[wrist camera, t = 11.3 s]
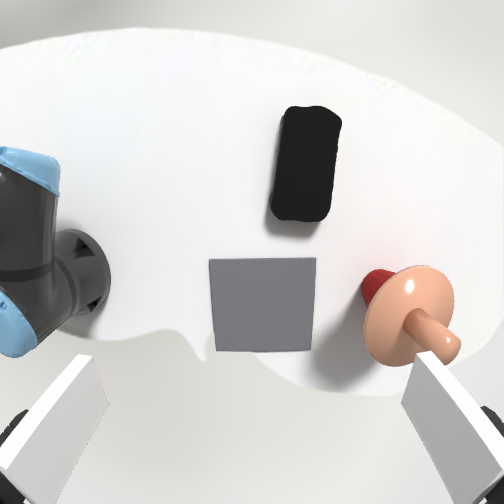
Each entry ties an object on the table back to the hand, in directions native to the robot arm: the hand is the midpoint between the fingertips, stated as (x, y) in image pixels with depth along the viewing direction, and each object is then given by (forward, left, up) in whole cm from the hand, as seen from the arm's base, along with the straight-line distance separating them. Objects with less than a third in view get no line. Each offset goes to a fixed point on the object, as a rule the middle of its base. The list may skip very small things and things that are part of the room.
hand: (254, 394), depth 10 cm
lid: (+20, -9, -23) cm, 31 cm away
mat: (+1, -12, -34) cm, 36 cm away
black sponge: (+7, +10, -35) cm, 37 cm away
